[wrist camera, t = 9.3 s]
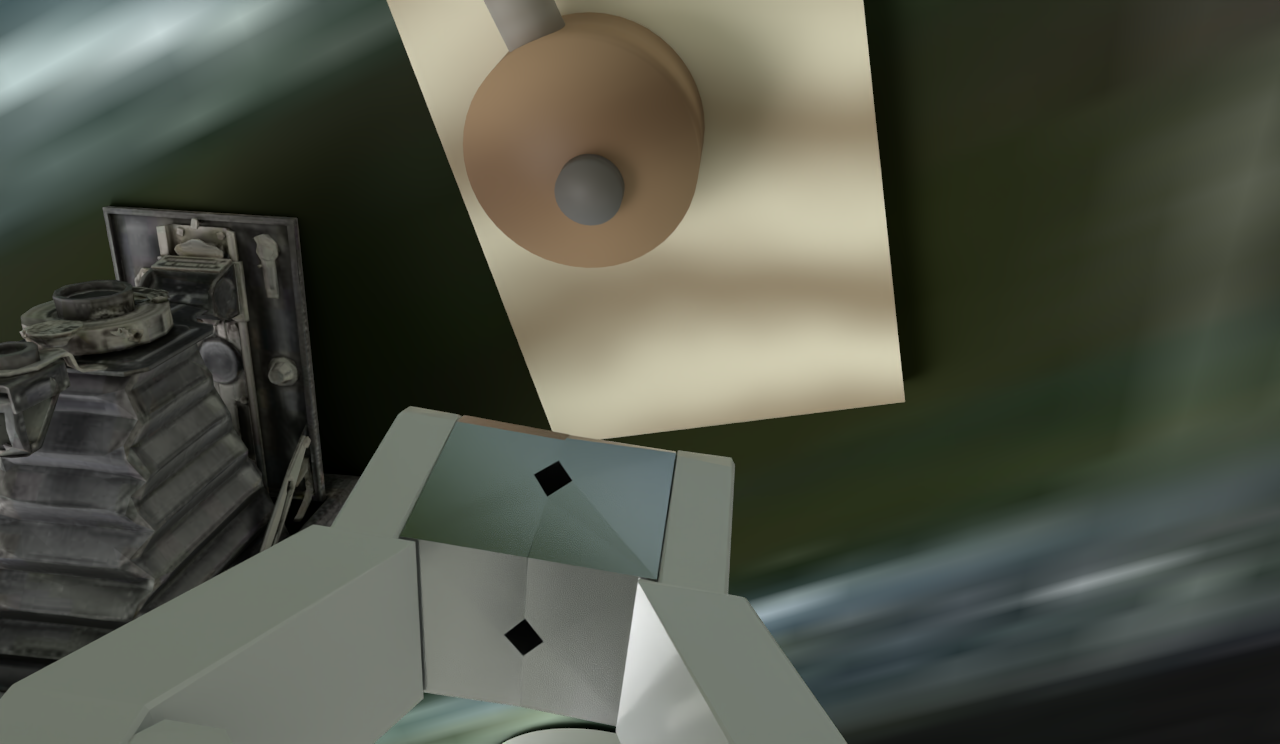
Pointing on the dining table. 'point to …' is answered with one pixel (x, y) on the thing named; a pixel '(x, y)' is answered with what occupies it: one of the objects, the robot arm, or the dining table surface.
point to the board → (707, 227)
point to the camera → (155, 428)
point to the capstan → (583, 135)
